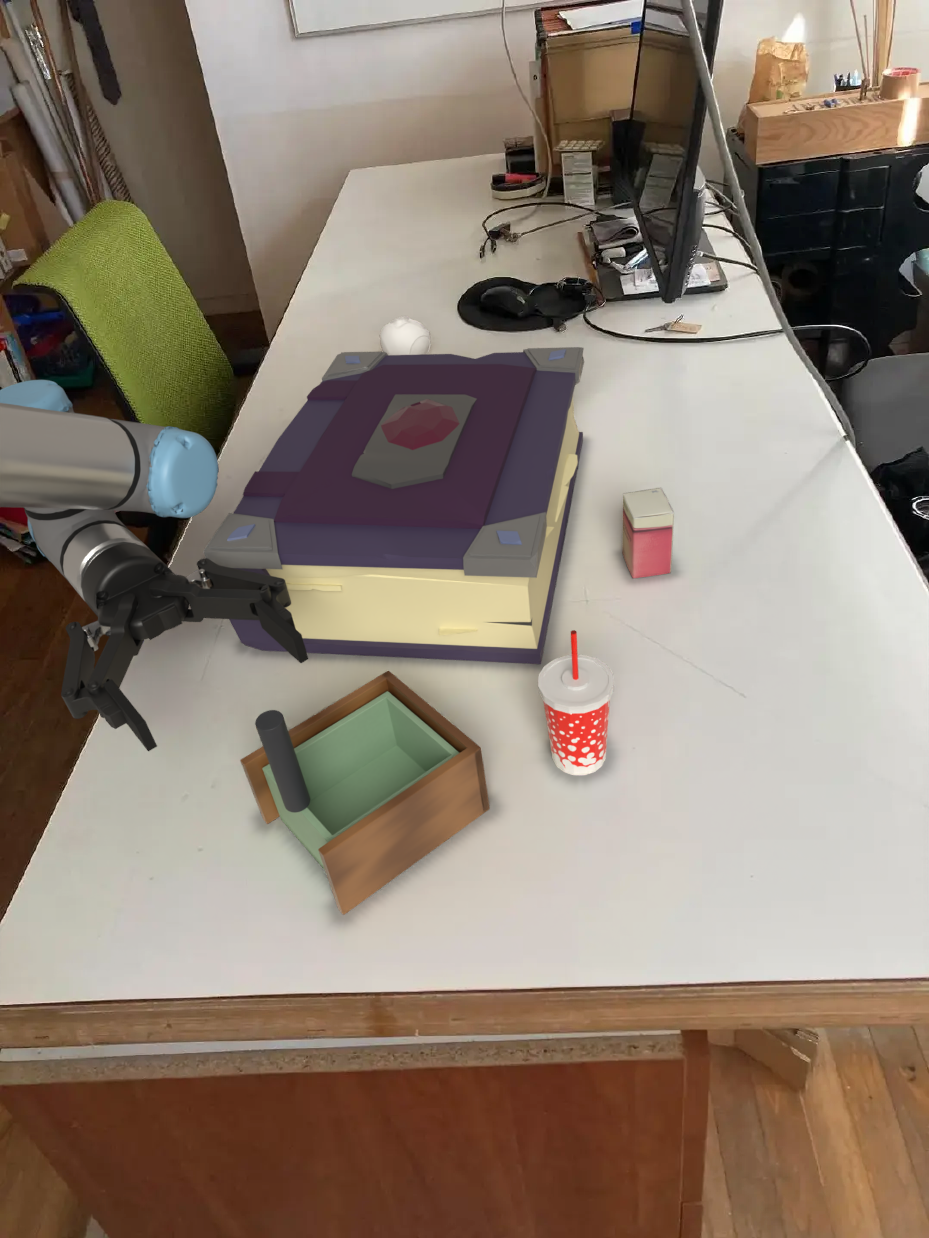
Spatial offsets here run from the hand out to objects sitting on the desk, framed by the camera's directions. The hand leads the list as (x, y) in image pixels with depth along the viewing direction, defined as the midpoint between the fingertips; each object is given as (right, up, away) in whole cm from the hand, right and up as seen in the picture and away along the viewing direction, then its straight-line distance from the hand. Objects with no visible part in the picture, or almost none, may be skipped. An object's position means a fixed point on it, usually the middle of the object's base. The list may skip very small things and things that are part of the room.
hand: (227, 691), depth 72 cm
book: (+14, +16, +37) cm, 43 cm away
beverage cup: (+28, -6, +8) cm, 30 cm away
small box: (+38, +11, +28) cm, 48 cm away
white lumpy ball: (+10, +46, +74) cm, 88 cm away
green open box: (+11, -11, +5) cm, 16 cm away
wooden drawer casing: (+11, -11, +5) cm, 16 cm away
